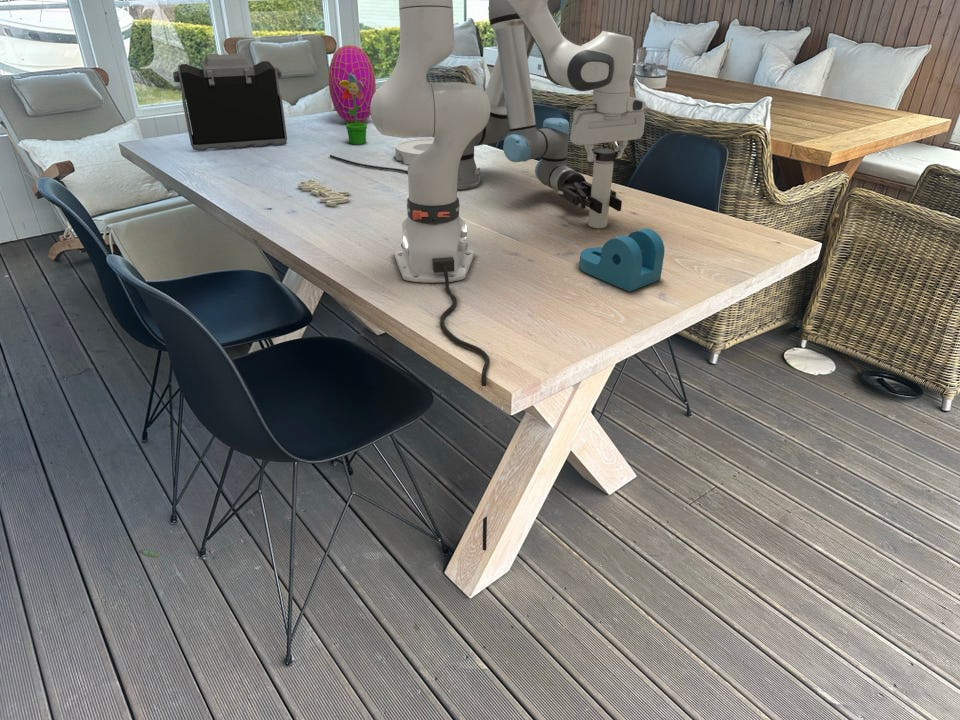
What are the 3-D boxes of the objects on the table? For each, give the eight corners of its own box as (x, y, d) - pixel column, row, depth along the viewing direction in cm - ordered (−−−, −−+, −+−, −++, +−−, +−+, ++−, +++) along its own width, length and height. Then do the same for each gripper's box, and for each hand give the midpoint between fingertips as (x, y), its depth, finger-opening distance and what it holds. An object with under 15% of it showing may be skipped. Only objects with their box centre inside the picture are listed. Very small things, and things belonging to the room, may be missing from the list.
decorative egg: (362, 116, 305) (357, 42, 290) (386, 123, 292) (382, 46, 277) (324, 121, 294) (316, 45, 279) (347, 129, 281) (340, 49, 266)
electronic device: (284, 132, 276) (273, 51, 260) (292, 144, 258) (281, 58, 243) (187, 139, 264) (169, 54, 249) (188, 152, 246) (169, 62, 231)
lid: (611, 162, 173) (612, 154, 172) (590, 160, 175) (591, 152, 174) (617, 157, 177) (618, 150, 176) (597, 155, 179) (597, 147, 178)
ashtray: (454, 167, 232) (454, 155, 230) (388, 164, 235) (387, 152, 233) (466, 151, 252) (466, 140, 250) (404, 148, 255) (404, 137, 253)
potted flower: (342, 144, 260) (336, 73, 247) (351, 139, 266) (346, 70, 254) (365, 146, 257) (360, 74, 245) (374, 141, 264) (369, 71, 251)
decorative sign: (361, 197, 199) (330, 204, 194) (361, 201, 200) (330, 207, 195) (320, 177, 217) (291, 182, 212) (321, 180, 218) (291, 185, 213)
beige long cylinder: (607, 228, 182) (614, 157, 173) (588, 227, 183) (594, 156, 174) (606, 222, 187) (614, 152, 177) (588, 221, 187) (594, 152, 178)
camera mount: (660, 279, 153) (667, 234, 148) (629, 291, 148) (635, 245, 142) (600, 255, 165) (604, 213, 160) (569, 265, 160) (573, 222, 154)
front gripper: (581, 108, 163) (576, 166, 170) (651, 102, 170) (643, 158, 177) (567, 103, 167) (563, 160, 174) (635, 98, 175) (629, 153, 182)
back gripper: (594, 192, 201) (638, 217, 182) (539, 199, 195) (578, 225, 176) (597, 167, 197) (642, 189, 178) (540, 172, 191) (580, 196, 172)
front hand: (604, 159), depth 176 cm, fingers open, 7 cm apart
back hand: (610, 207), depth 177 cm, fingers closed on beige long cylinder, 5 cm apart
